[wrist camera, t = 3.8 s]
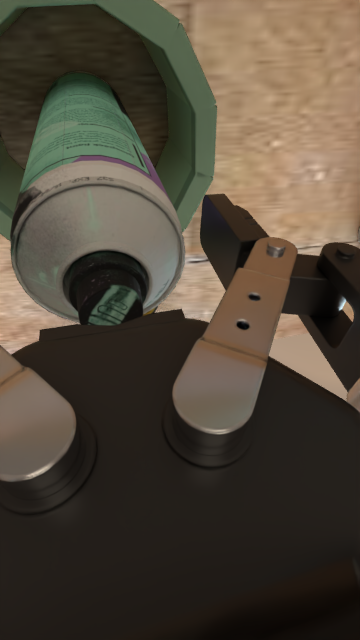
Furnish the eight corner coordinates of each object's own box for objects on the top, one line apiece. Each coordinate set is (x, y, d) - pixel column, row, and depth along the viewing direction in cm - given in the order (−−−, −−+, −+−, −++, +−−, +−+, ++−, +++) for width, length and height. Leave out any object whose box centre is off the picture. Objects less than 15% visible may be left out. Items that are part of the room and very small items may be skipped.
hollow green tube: (-19, -106, 15) (-69, -166, 9) (216, 63, 21) (265, 83, 16) (-40, 174, 22) (-74, 229, 17) (138, 235, 29) (154, 287, 24)
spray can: (47, 157, 23) (13, 388, 9) (38, 62, 19) (-40, 212, 6) (123, 165, 25) (189, 373, 11) (128, 79, 21) (236, 228, 7)
